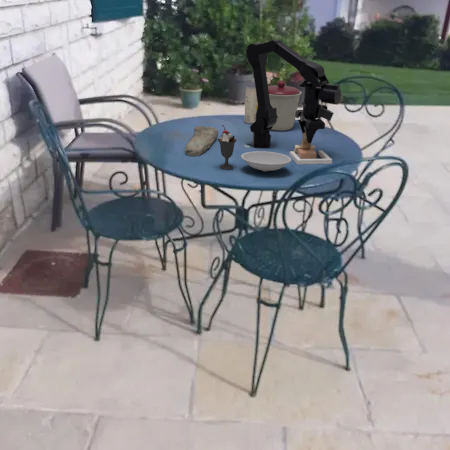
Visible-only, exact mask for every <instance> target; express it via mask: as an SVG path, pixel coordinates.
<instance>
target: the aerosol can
mask: <svg viewBox="0 0 450 450" xmlns="http://www.w3.org/2000/svg"><path fill="white" fill-rule="evenodd" d="M257 108H258V102H257V95H256V88H255V81H254V77H253V78H251V80H250V81H249V82H248V83H247V84H246V86H245V97H244V121H243V123H244V124H247V125H252V124H253V123H254V122H255V121H256V112H257Z"/></svg>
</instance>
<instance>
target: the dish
mask: <svg viewBox="0 0 450 450" xmlns="http://www.w3.org/2000/svg"><path fill="white" fill-rule="evenodd" d="M240 158H241V159H242V160H243V161H244V162H245V163H246V164H247V165H248V166H249V167H251V168H253V169H255V170H259V171H262V172H264V173H266V172H269V171H270V172H271V171H272V172H273V171H278V170H280V169H282V168H283V167H285V166H286V165H288V164H290V163H291V162H292V157H291V156H290V155H287V154H283V153H280V152H275V151H274V152H273V151H264V150H258V151H256V150H255V151H246V152H244V153H242V154H240Z"/></svg>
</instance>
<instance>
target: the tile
mask: <svg viewBox="0 0 450 450" xmlns="http://www.w3.org/2000/svg"><path fill="white" fill-rule="evenodd" d="M296 154H297V156H298V157H299V158H300V159H317V155H318V152H317V151H316V150H314V149H298V150H297V153H296Z"/></svg>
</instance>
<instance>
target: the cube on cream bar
mask: <svg viewBox="0 0 450 450" xmlns="http://www.w3.org/2000/svg"><path fill="white" fill-rule="evenodd" d="M312 142H313V141H312ZM312 142H311V143H310V144H308V142H307V138H306V133H303V134H302V138H301V141H300V144H295V145H294V148H293V151H294V152H295V153H296V154H297V150H298V149H314V151H316V146H315V144H313V143H312Z"/></svg>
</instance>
